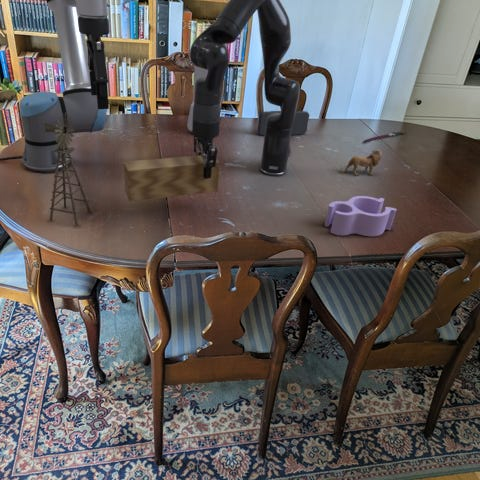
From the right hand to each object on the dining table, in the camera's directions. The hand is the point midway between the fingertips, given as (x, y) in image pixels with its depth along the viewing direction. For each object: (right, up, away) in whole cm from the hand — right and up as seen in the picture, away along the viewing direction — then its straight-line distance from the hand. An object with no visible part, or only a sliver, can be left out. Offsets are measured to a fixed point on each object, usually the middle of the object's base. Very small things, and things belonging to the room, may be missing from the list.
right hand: (203, 172), depth 138 cm
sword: (+77, +27, +76) cm, 112 cm away
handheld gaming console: (+29, +27, +68) cm, 78 cm away
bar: (-9, -6, -1) cm, 11 cm away
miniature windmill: (-37, -13, -6) cm, 40 cm away
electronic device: (-5, +27, +62) cm, 68 cm away
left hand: (-28, +18, -10) cm, 35 cm away
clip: (+47, -16, +5) cm, 49 cm away
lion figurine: (+57, +6, +40) cm, 70 cm away
